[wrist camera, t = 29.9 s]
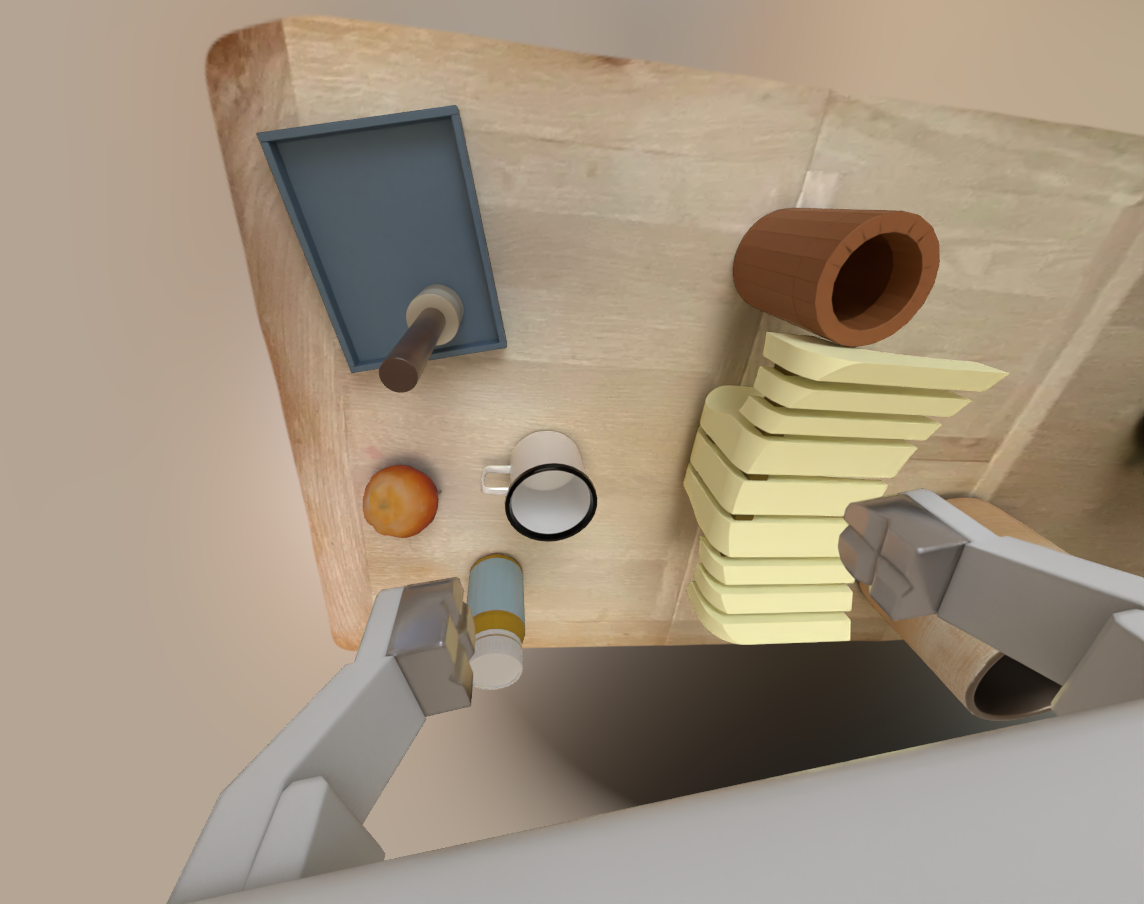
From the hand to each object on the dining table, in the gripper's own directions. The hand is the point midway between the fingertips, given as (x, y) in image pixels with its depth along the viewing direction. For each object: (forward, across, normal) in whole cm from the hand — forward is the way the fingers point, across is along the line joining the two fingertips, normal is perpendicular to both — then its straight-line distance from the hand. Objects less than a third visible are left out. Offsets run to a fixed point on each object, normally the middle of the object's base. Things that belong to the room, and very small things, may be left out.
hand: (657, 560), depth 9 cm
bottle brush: (+39, +10, +1) cm, 40 cm away
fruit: (+39, +19, +20) cm, 48 cm away
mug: (+39, +4, +20) cm, 44 cm away
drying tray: (+39, +12, -4) cm, 41 cm away
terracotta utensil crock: (+39, -24, +2) cm, 46 cm away
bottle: (+39, +12, +36) cm, 55 cm away
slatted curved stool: (+39, -22, +22) cm, 50 cm away
